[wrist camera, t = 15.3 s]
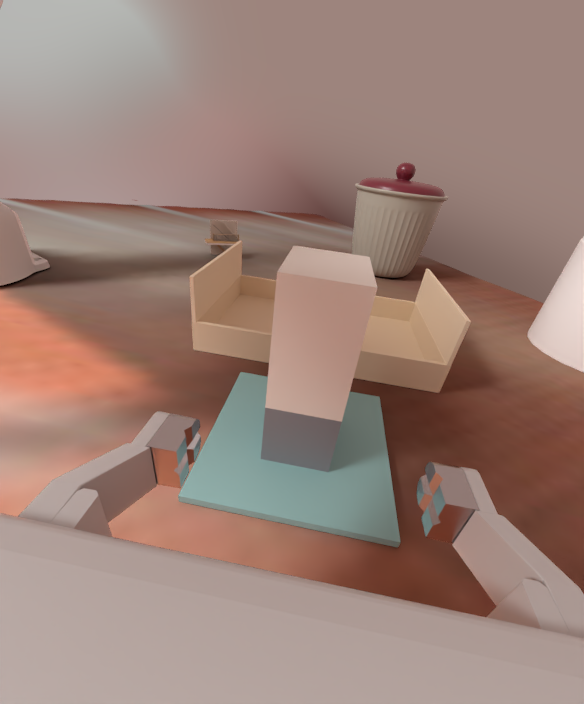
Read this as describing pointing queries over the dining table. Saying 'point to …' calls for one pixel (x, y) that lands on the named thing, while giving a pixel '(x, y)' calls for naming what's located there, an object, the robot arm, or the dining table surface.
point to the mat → (298, 471)
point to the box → (314, 352)
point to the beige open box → (380, 337)
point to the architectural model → (222, 235)
